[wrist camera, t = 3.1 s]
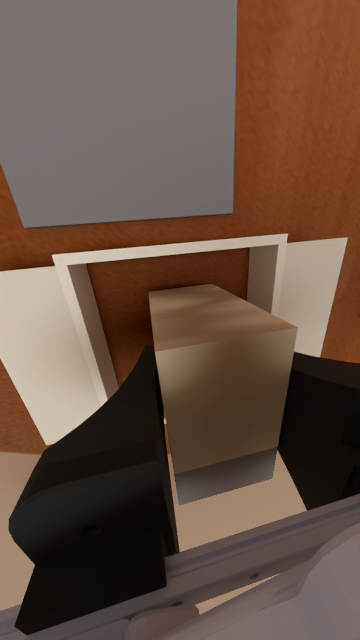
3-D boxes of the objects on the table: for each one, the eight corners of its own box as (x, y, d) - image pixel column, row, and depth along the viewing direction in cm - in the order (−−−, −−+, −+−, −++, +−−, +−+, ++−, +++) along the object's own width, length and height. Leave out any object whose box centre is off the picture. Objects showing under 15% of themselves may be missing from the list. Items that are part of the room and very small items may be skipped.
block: (212, 283, 12) (297, 327, 5) (214, 374, 14) (272, 478, 8) (148, 291, 11) (155, 352, 5) (162, 384, 14) (179, 505, 7)
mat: (233, -41, 8) (238, -54, 8) (230, 214, 12) (232, 212, 12) (-83, -84, 7) (-96, -103, 6) (28, 228, 10) (23, 227, 10)
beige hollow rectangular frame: (307, 232, 13) (350, 227, 11) (285, 368, 18) (312, 390, 15) (0, 260, 11) (-50, 263, 8) (66, 413, 15) (49, 450, 12)
